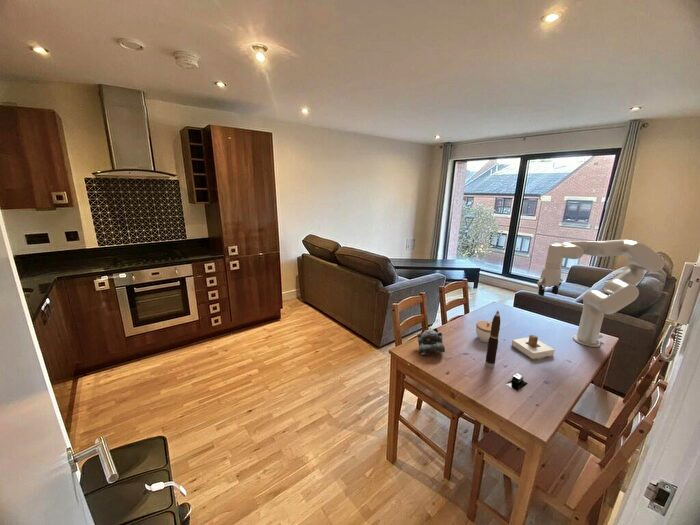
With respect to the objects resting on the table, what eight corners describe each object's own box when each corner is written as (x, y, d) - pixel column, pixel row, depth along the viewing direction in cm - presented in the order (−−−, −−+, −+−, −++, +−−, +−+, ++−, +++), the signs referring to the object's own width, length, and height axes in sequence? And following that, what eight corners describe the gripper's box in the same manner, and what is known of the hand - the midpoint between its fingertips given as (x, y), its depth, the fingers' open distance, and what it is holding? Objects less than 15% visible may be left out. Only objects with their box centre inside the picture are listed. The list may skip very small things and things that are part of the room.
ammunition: (486, 361, 149) (494, 308, 141) (495, 364, 146) (504, 310, 138) (483, 365, 145) (491, 311, 138) (493, 368, 143) (502, 314, 135)
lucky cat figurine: (414, 355, 154) (412, 328, 157) (421, 353, 164) (419, 328, 167) (442, 355, 146) (439, 327, 149) (448, 353, 156) (445, 327, 159)
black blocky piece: (516, 376, 138) (517, 367, 137) (532, 384, 132) (533, 376, 131) (501, 385, 132) (503, 376, 131) (517, 394, 126) (519, 385, 125)
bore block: (531, 342, 167) (532, 336, 166) (553, 356, 154) (554, 349, 153) (511, 346, 163) (512, 339, 162) (532, 360, 150) (533, 353, 149)
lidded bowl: (502, 342, 167) (505, 325, 164) (486, 346, 162) (488, 329, 159) (485, 332, 178) (487, 316, 175) (469, 336, 174) (472, 319, 171)
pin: (531, 347, 161) (533, 334, 158) (537, 350, 157) (539, 337, 155) (525, 348, 159) (527, 335, 157) (532, 352, 156) (534, 339, 154)
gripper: (558, 263, 166) (553, 291, 170) (535, 265, 161) (530, 293, 166) (571, 266, 159) (565, 295, 163) (547, 268, 154) (541, 298, 159)
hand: (547, 294), depth 164 cm, fingers open, 9 cm apart
